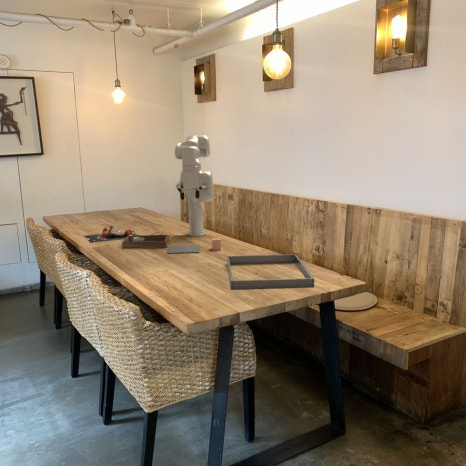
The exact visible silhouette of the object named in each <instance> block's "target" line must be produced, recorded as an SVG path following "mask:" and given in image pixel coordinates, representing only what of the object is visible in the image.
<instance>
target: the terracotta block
mask: <svg viewBox="0 0 466 466" xmlns="http://www.w3.org/2000/svg"><path fill="white" fill-rule="evenodd" d="M221 242H222V239H221V237H214V238H213V237H212V238H211V250H212V251H220V250H222V248H221V247H222V243H221Z"/></svg>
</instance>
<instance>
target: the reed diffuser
mask: <svg viewBox="0 0 466 466" xmlns="http://www.w3.org/2000/svg"><path fill="white" fill-rule="evenodd" d="M157 233H159V231H157V232H155V233H152V234H149V235H150V236H151V235H155V236H157V235H158V234H157ZM159 235H162V233H160V234H159ZM151 237H153V236H151ZM146 238H149V236H148V237H146ZM144 240H149V239H145V238H140V237H134V238H132V241H133V242H138V241H144ZM153 241H158V240H153Z"/></svg>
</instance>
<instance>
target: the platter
mask: <svg viewBox="0 0 466 466" xmlns="http://www.w3.org/2000/svg"><path fill="white" fill-rule="evenodd" d="M101 232H102V233H97V234H86V235H83V237H84V238H85V239H88V240H87V241H88V242H89V243H90V244H94V242H95V243H102V242H110V241H111V242H112V241H119V240H120V241H121V240H124V239H125V238H126V237H127V236H137V235H138V234H137V233H136V232H135V231H134V230H131V229H130V228H128V229H127V228H126V230H125V231H124V230H123V229H120V228H118V227H115V226H113V225H111V226H110V228H109V229H108V228H107V227H104V228H103V229H102V231H101ZM94 240H95V241H94Z"/></svg>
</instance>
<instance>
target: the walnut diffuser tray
mask: <svg viewBox="0 0 466 466" xmlns="http://www.w3.org/2000/svg"><path fill="white" fill-rule="evenodd" d="M136 235H137V236H127V237H126V238H125V239H123V241H122V242H121V244H122V245H121V246H122V247H121V248H122V250H125V249H126V250H127V249H129V250H131V249H159V248H161V249H162V248H164V249H165V248H167V247H168V244H169V241H170V235H169V234H161V235H160V234H154V235H153V234H148V235H147V234H145V235H144V234H143V235H142V234H136ZM150 235H151V236H153V237H151V236H150ZM155 235H157V236H155ZM148 236H149V238H146V237H148ZM134 237H140V238H145V239H149V240H144V241H138V242H133V241H132V238H134ZM153 240H158V241H153Z"/></svg>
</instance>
